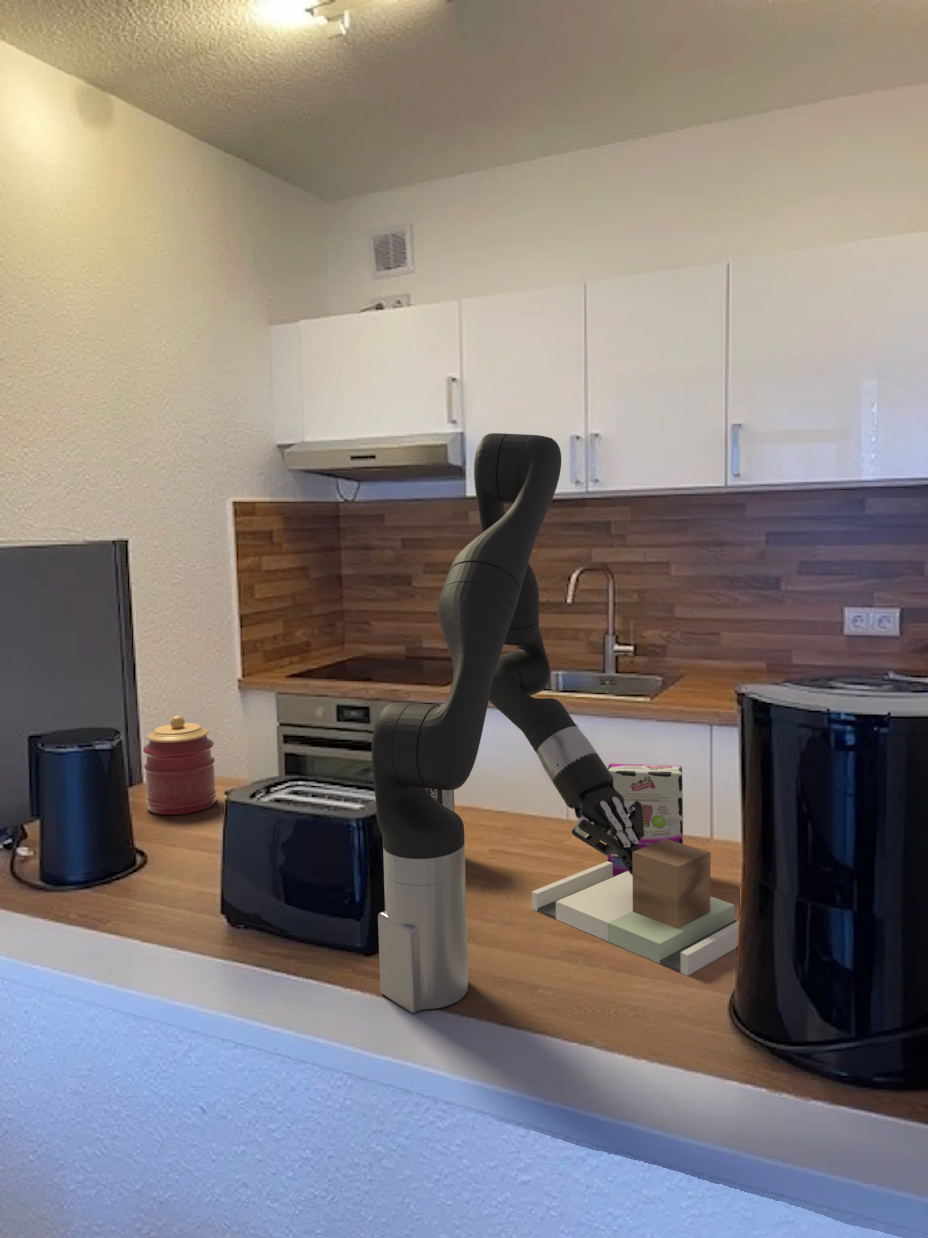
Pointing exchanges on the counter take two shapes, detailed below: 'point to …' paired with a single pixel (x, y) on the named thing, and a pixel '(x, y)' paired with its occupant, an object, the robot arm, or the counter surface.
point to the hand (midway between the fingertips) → (644, 874)
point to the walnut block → (671, 882)
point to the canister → (179, 769)
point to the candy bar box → (651, 802)
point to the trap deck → (636, 920)
